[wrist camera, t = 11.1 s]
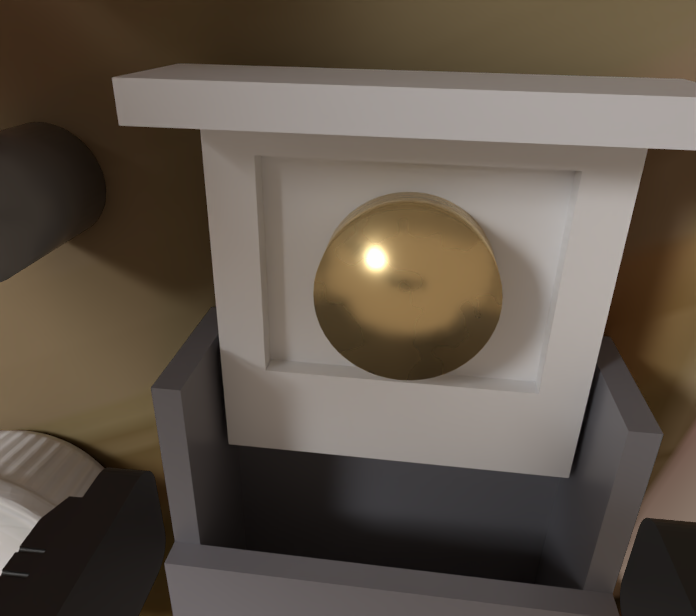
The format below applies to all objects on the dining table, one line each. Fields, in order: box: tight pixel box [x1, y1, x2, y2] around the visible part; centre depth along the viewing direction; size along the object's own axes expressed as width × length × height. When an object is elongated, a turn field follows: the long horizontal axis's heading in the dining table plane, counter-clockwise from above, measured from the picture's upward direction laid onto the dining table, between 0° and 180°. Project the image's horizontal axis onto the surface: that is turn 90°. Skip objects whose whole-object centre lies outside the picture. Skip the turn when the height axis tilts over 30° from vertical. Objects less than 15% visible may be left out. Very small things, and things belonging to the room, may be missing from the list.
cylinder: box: [0, 122, 106, 282], centre depth 21 cm, size 4×4×5 cm
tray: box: [112, 63, 696, 478], centre depth 20 cm, size 14×16×5 cm
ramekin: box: [0, 430, 105, 576], centre depth 29 cm, size 11×11×5 cm
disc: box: [313, 192, 503, 380], centre depth 20 cm, size 6×6×2 cm
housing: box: [151, 307, 664, 616], centre depth 24 cm, size 14×16×7 cm
